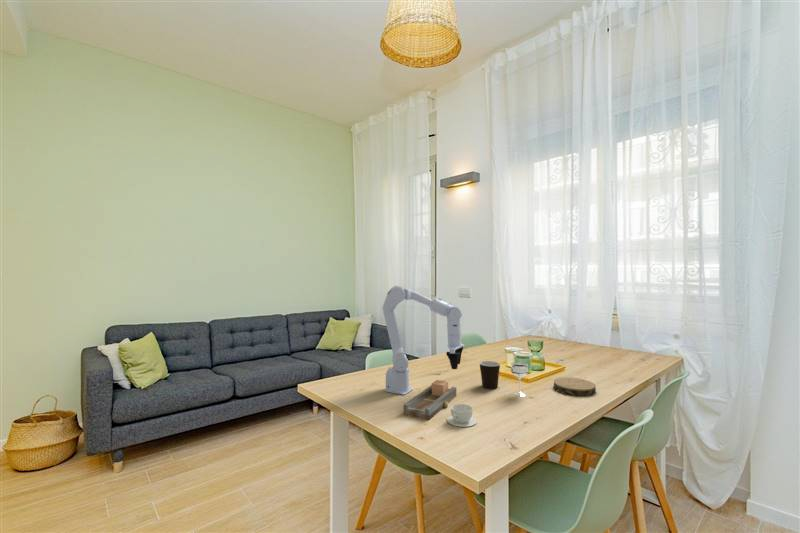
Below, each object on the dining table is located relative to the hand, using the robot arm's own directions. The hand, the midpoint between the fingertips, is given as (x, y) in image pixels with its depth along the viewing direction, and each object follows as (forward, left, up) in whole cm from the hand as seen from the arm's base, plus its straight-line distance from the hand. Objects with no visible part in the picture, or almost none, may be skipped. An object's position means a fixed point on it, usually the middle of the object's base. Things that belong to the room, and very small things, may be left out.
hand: (455, 366), depth 157 cm
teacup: (+13, -30, -10) cm, 34 cm away
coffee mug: (+12, +11, -10) cm, 19 cm away
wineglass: (+25, +6, -10) cm, 28 cm away
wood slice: (+44, +22, -10) cm, 50 cm away
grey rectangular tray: (-2, -21, -10) cm, 23 cm away
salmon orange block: (-2, -13, -8) cm, 15 cm away
